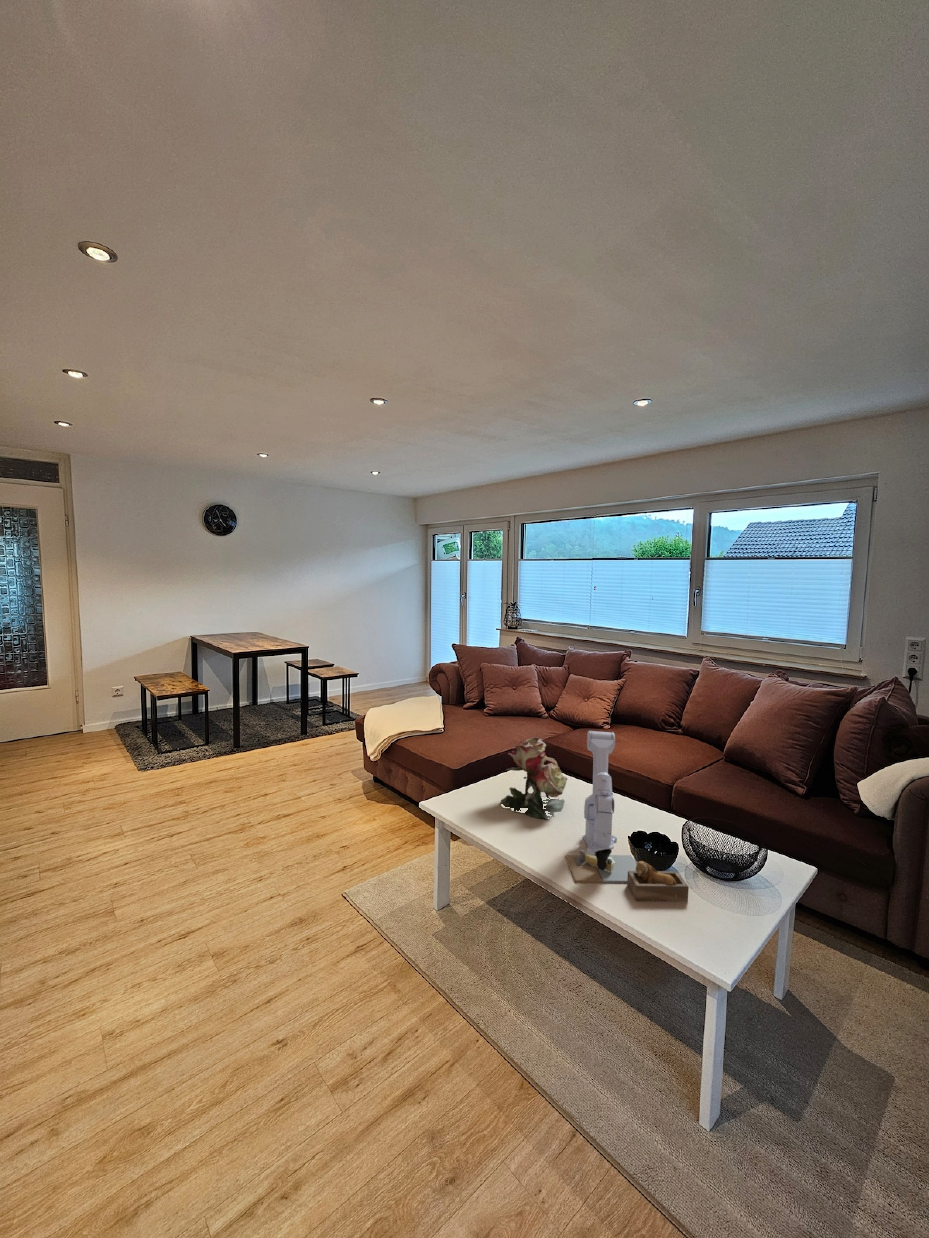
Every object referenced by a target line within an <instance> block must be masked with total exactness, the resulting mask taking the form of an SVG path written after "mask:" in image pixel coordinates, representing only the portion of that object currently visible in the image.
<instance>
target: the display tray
mask: <svg viewBox="0 0 929 1238" xmlns="http://www.w3.org/2000/svg"><path fill="white" fill-rule="evenodd" d="M656 871H657V872H659V873H663V874H669V875H671V876H672V877H673V878H674V880H675V881H676V883H677V885H676V884H673V885H670V884H656V883H654V882H653V884H648V883H647V881H644V880H643V879H642V877H640V876H638V874H637V872H636V871H628V879H627V883H626V885H627V887H628V890H629V891H630V893H631V895H632V896H633V898H634V900H635V902H676V903H677V902H681V903H682V902H686V903H687V902H689V890H690V889H689V888H690V887H689V885H688V884H687V882H686V881H685V879H684V878H683V877H682V876H681V874H680V873H679V872H678V871H676V870H675V871H673V870H672V871H671V870H666V871H665V870H662V871H660V870H656ZM675 894H676V895H677V900H676V901H674V899H675Z"/></svg>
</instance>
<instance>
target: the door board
mask: <svg viewBox="0 0 929 1238" xmlns="http://www.w3.org/2000/svg"><path fill="white" fill-rule="evenodd" d="M586 855H587V854H586V851H585V850H582V849H581V850H579V854H565V856H564V857H565V859H566V862H567V864H568V867H569V869H570V872H571V875H572V877H573V880H574V882H575V883H577V884H581V883H584V884H588V883H589V884H590V883H591V884H594V883H597V884H627V879H628V871H636V864H637V862H636V861H635V860H634V857H633V856H632V855H629V854H610V855H609V857H608V859H611V860H612V863H614V864H613V871H612V872H610V871H607V870H605V869H604V870H601V869H599V868H598V867H597V866H594V865H592V864H589V863H587V862H585V856H586ZM593 856H596V855H595V854H594V855H593Z"/></svg>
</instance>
